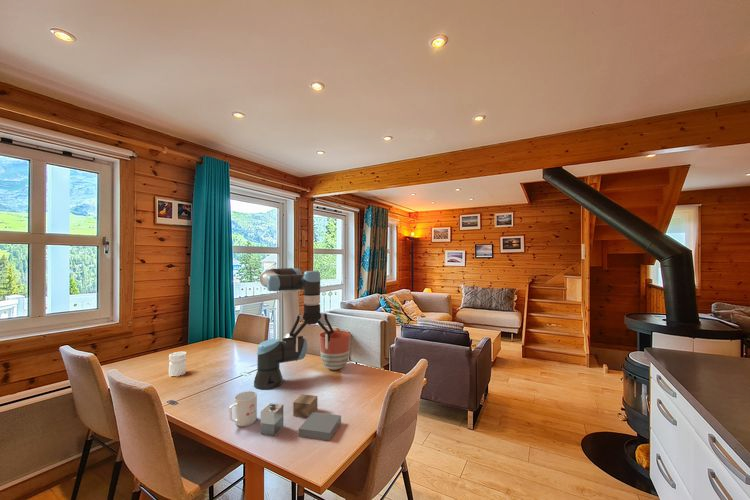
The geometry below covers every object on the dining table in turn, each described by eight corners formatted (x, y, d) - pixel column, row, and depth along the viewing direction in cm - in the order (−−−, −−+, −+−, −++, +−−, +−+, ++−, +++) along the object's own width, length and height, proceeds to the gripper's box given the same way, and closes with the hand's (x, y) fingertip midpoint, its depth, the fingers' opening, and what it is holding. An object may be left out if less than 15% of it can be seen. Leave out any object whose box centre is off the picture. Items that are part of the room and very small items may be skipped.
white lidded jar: (169, 378, 177) (170, 357, 177) (167, 373, 183) (167, 353, 184) (187, 374, 183) (187, 354, 183) (184, 370, 189) (184, 350, 189)
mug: (248, 414, 136) (248, 389, 136) (261, 420, 132) (261, 394, 132) (222, 427, 126) (223, 400, 126) (236, 433, 121) (236, 405, 122)
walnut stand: (293, 415, 135) (293, 402, 135) (301, 407, 143) (301, 394, 143) (309, 418, 133) (310, 404, 133) (317, 408, 141) (317, 395, 141)
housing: (260, 434, 121) (260, 409, 121) (270, 424, 128) (270, 401, 128) (274, 436, 120) (274, 411, 120) (283, 426, 127) (283, 402, 127)
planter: (356, 366, 195) (356, 332, 195) (337, 376, 179) (337, 340, 179) (333, 360, 205) (333, 328, 206) (312, 370, 189) (312, 335, 189)
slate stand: (298, 436, 120) (298, 428, 120) (312, 419, 132) (312, 412, 132) (329, 440, 117) (329, 432, 117) (341, 422, 129) (341, 415, 130)
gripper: (284, 306, 135) (283, 354, 135) (339, 304, 142) (339, 349, 142) (284, 304, 142) (284, 349, 142) (337, 301, 149) (337, 345, 149)
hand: (311, 349), depth 142 cm, fingers open, 13 cm apart
